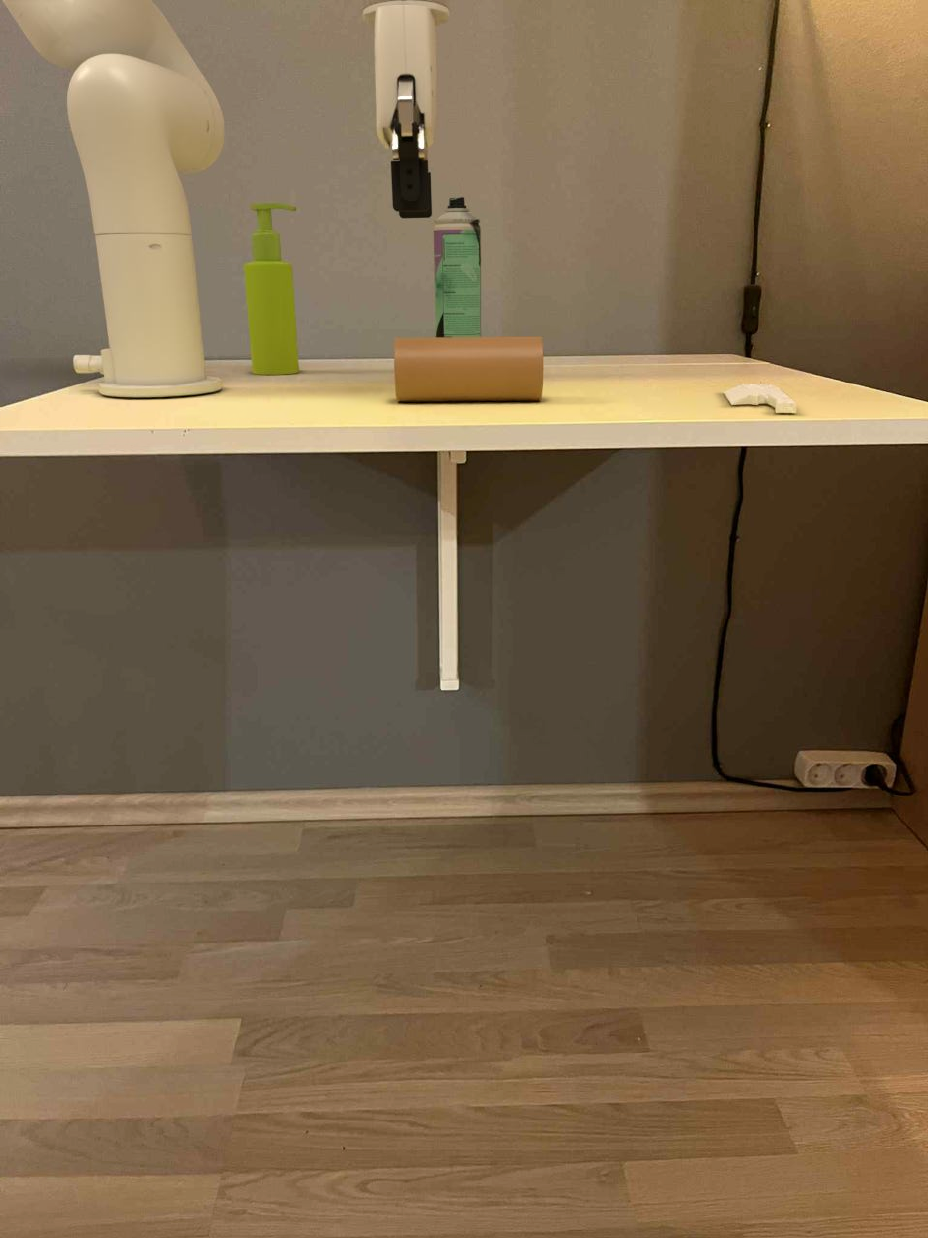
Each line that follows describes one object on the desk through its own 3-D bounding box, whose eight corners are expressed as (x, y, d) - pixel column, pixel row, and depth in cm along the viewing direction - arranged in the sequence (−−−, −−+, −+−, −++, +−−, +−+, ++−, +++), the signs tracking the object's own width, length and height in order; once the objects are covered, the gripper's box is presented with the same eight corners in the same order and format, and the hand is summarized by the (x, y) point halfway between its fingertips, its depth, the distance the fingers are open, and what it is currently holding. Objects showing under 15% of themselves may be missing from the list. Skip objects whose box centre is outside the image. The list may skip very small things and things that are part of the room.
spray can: (483, 374, 118) (482, 198, 111) (479, 378, 113) (478, 194, 106) (439, 374, 118) (436, 199, 112) (433, 378, 113) (430, 195, 106)
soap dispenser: (302, 374, 119) (291, 200, 112) (248, 374, 119) (233, 201, 113) (310, 370, 125) (300, 204, 118) (258, 370, 125) (244, 205, 118)
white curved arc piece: (734, 412, 83) (735, 399, 82) (723, 393, 97) (724, 382, 96) (795, 412, 82) (797, 399, 81) (775, 393, 96) (776, 382, 95)
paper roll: (394, 405, 90) (392, 339, 88) (398, 397, 96) (396, 335, 94) (543, 404, 90) (544, 338, 88) (538, 396, 96) (539, 334, 94)
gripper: (370, 26, 90) (380, 221, 96) (351, -30, 74) (364, 208, 80) (449, 24, 90) (454, 219, 96) (448, -33, 74) (453, 206, 80)
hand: (413, 214), depth 88 cm, fingers open, 9 cm apart
